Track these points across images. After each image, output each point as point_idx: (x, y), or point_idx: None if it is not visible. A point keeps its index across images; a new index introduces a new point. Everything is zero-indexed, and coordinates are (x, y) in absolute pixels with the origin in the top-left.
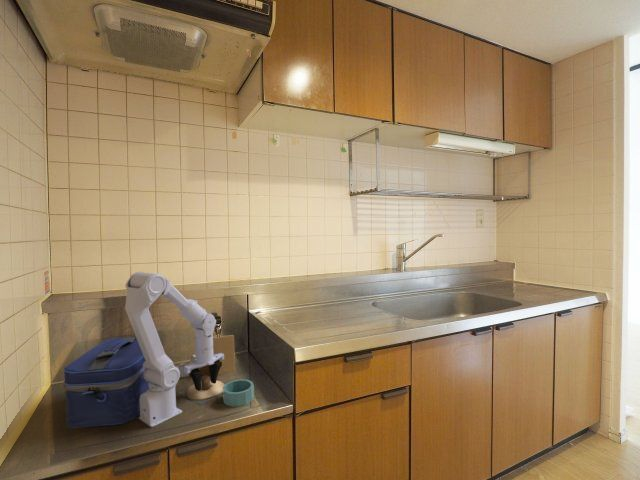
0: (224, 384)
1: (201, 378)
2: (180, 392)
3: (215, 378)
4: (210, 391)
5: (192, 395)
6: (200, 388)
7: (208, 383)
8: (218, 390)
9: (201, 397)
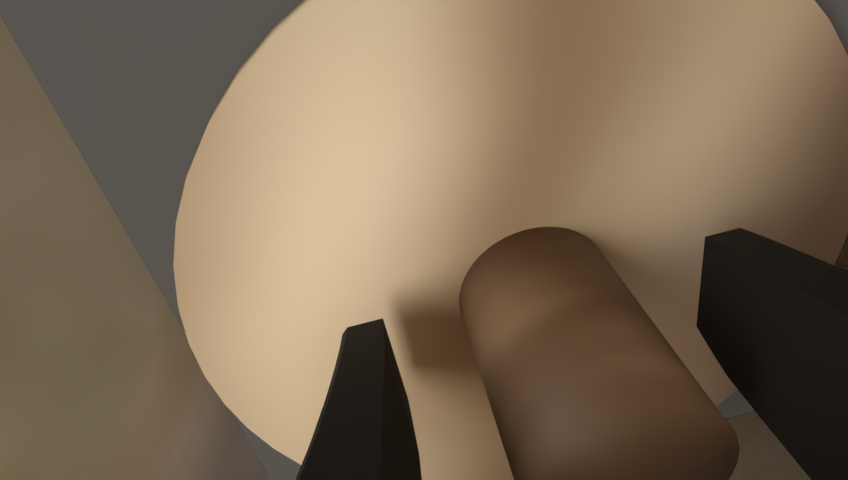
0: (160, 288)
1: (725, 473)
2: None
3: (373, 392)
4: (542, 132)
5: (818, 201)
6: (741, 247)
7: (566, 308)
8: (392, 56)
9: (810, 3)
